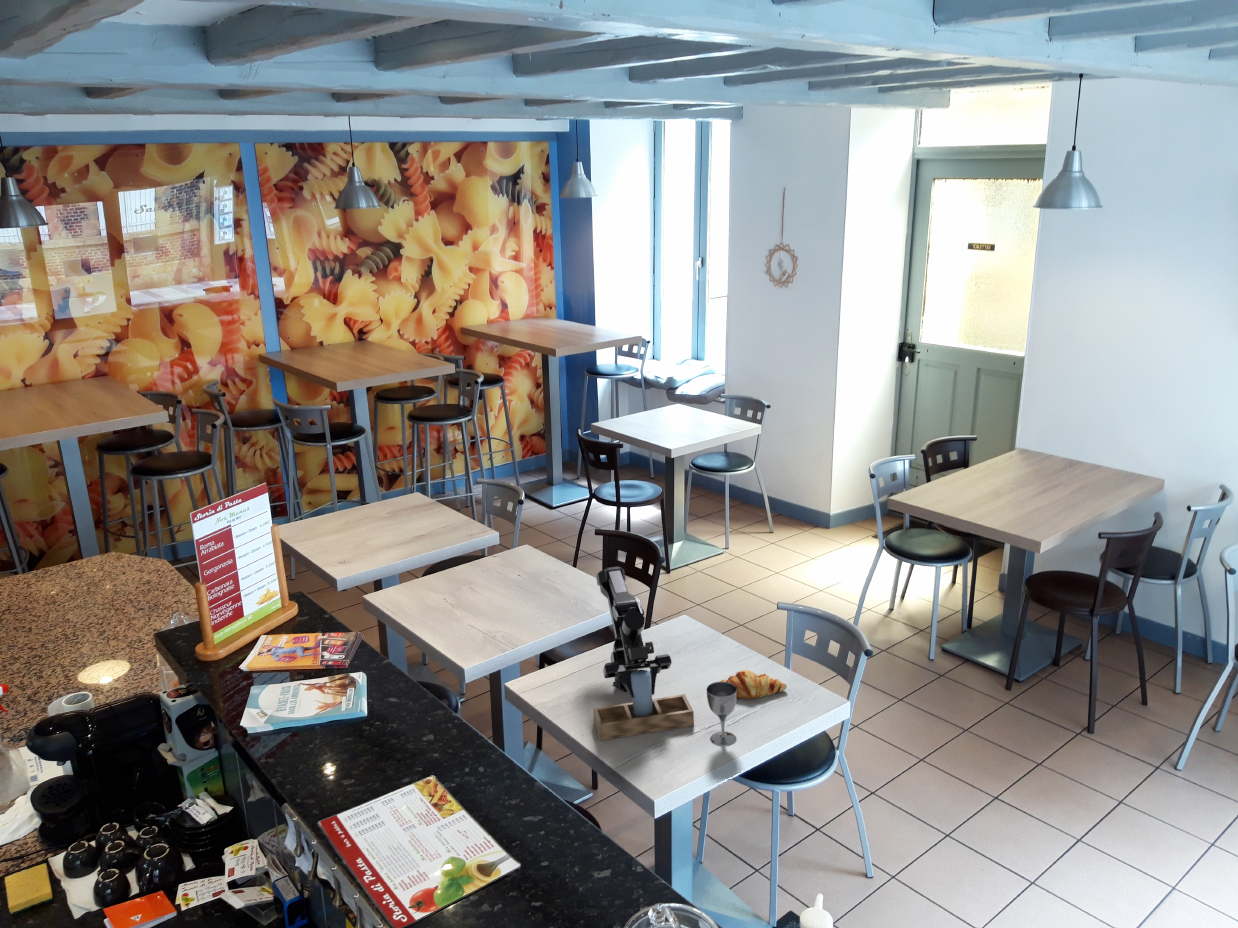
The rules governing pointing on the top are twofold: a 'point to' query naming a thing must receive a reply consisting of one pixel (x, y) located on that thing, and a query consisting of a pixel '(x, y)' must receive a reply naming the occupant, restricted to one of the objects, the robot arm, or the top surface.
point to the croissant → (755, 684)
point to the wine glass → (722, 709)
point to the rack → (643, 718)
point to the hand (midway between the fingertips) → (643, 696)
